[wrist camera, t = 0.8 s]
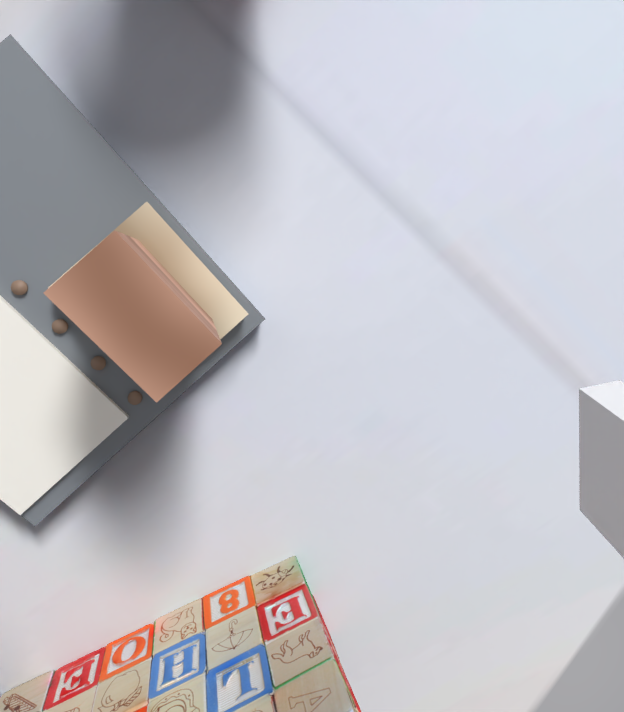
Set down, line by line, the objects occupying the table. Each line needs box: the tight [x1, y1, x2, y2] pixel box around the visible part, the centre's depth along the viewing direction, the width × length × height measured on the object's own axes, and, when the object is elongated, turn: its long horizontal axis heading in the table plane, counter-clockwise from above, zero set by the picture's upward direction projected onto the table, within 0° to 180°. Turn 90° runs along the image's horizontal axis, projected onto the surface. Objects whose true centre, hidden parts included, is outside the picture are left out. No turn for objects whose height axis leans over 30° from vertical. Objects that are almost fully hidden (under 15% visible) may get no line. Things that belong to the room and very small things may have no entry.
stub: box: [44, 202, 248, 403], centre depth 22 cm, size 6×7×9 cm
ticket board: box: [0, 34, 265, 526], centre depth 26 cm, size 16×17×2 cm
